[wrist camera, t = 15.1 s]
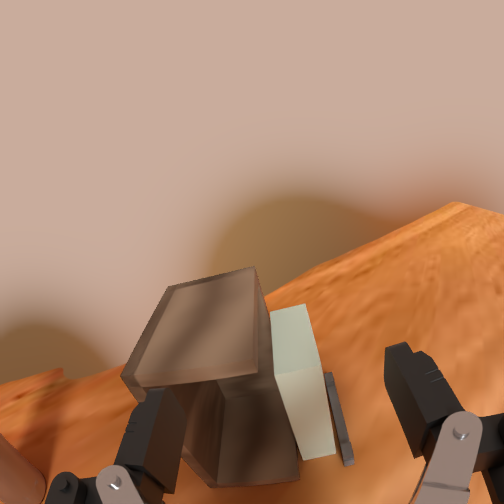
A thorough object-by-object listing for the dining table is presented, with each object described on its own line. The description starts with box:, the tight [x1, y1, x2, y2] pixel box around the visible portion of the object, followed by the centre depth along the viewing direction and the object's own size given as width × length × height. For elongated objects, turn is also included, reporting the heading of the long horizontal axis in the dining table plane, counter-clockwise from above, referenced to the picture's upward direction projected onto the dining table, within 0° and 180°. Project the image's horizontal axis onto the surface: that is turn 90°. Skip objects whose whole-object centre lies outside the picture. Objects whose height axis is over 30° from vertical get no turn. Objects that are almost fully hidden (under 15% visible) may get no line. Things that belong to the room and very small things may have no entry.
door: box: [270, 304, 336, 461], centre depth 27 cm, size 4×9×14 cm, turn 1°
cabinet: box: [120, 266, 354, 488], centre depth 27 cm, size 15×14×18 cm
